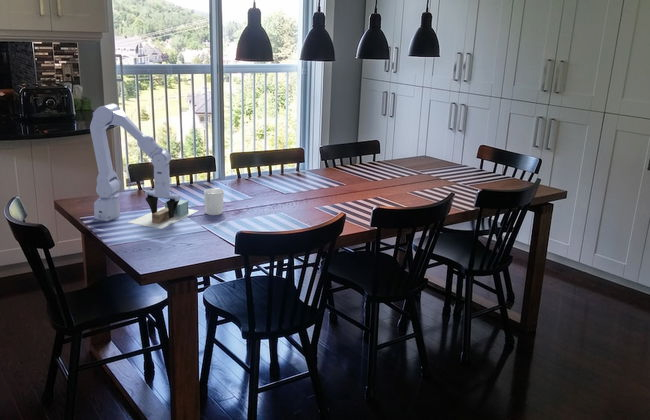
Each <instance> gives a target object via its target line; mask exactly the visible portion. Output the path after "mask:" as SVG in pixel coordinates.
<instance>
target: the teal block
mask: <svg viewBox="0 0 650 420" xmlns="http://www.w3.org/2000/svg"><path fill="white" fill-rule="evenodd" d="M164 207H165V208H167V207H168V206H167V203H166V201H164ZM188 209H189V200H185V199H180V200H179V202H178V204H177V206H176V209H175V212H178V216H179V217H181V216H183V215H185V214H187V213H189V210H188Z"/></svg>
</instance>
